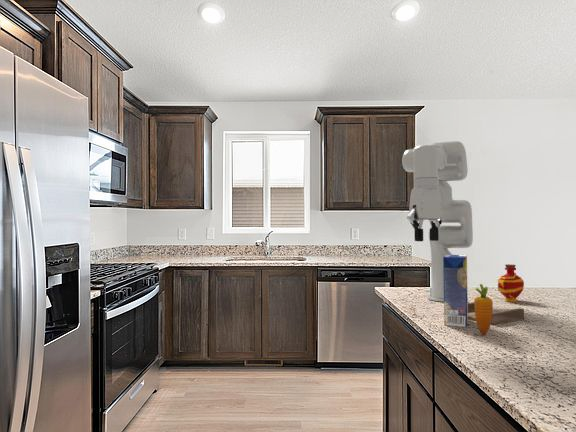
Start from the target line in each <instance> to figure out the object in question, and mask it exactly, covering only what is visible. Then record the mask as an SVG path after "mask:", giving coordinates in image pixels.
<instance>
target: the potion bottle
mask: <svg viewBox="0 0 576 432" xmlns="http://www.w3.org/2000/svg"><path fill="white" fill-rule="evenodd" d="M504 266H505V268H504V270H505V271H506V273H505V274H503V275H501V276H500V277H499V278H498V279H497V291H498V292H500V294H501V295H503V296H504V297H505V298H504V300H503V301H504V302H511V303H517V302H518V299H517V298H518V297H519V296H520V295H521V293H522V292H523V290H524V288H525V282H524V280H523V278H522V277H521V276H519V275H518V274H517V273H516V272H515V271H516V270H517V268H516V264H509V263H508V264H504Z"/></svg>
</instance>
